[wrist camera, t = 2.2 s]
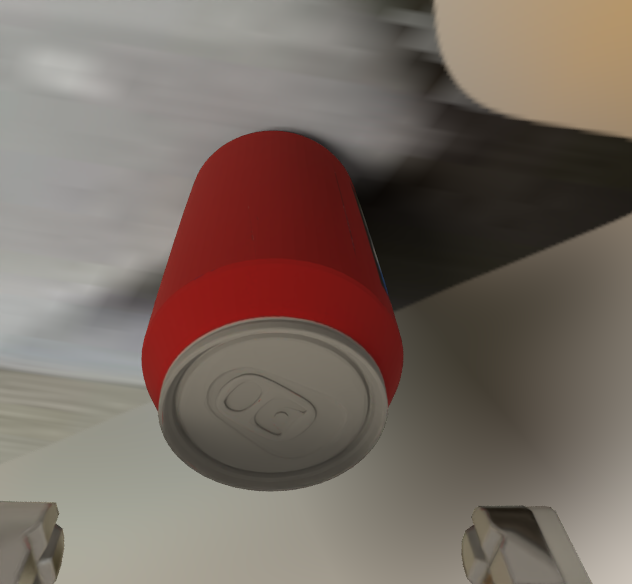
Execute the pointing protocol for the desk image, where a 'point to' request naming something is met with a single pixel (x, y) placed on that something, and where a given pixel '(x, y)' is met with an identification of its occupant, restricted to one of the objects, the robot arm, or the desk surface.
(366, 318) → the beverage can
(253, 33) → the desk surface
